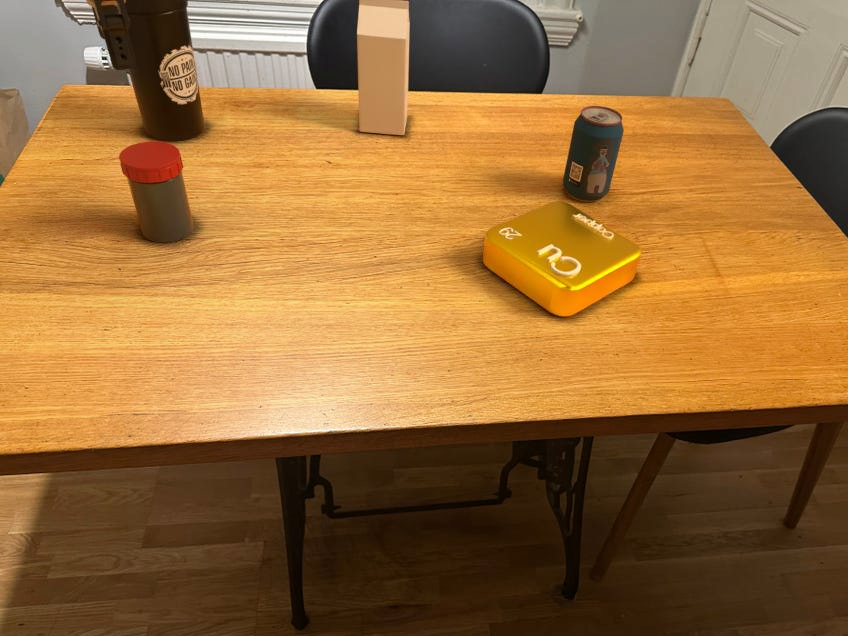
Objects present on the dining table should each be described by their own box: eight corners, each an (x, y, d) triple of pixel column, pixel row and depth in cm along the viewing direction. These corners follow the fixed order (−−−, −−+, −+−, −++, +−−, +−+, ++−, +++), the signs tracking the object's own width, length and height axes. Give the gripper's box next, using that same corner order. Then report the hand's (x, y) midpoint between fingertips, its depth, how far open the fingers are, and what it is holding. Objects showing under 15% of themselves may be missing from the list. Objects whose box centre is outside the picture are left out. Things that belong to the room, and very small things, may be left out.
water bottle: (173, 150, 101) (134, -24, 85) (123, 129, 104) (77, -43, 88) (225, 127, 108) (198, -39, 92) (177, 107, 111) (143, -56, 95)
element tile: (640, 277, 89) (650, 246, 86) (562, 323, 81) (569, 290, 77) (554, 224, 96) (560, 193, 93) (475, 260, 88) (478, 228, 85)
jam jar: (135, 241, 84) (114, 168, 78) (151, 214, 89) (132, 144, 82) (186, 244, 85) (169, 173, 78) (199, 218, 89) (185, 148, 83)
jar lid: (114, 181, 79) (110, 165, 77) (134, 154, 83) (130, 139, 82) (173, 185, 79) (170, 170, 78) (189, 158, 84) (186, 143, 82)
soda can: (581, 176, 107) (597, 99, 99) (616, 195, 104) (636, 117, 96) (551, 189, 103) (566, 110, 95) (587, 209, 100) (606, 130, 92)
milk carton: (404, 136, 111) (406, 9, 98) (359, 132, 110) (356, 4, 98) (407, 117, 116) (410, -6, 103) (364, 113, 116) (362, -11, 103)
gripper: (12, -155, 63) (70, 32, 74) (24, -122, 55) (87, 84, 66) (102, -153, 66) (144, 26, 77) (127, -123, 58) (171, 74, 69)
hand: (118, 52), depth 71 cm, fingers open, 8 cm apart
